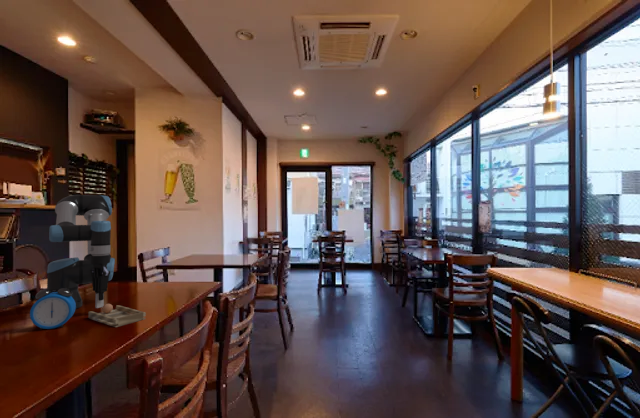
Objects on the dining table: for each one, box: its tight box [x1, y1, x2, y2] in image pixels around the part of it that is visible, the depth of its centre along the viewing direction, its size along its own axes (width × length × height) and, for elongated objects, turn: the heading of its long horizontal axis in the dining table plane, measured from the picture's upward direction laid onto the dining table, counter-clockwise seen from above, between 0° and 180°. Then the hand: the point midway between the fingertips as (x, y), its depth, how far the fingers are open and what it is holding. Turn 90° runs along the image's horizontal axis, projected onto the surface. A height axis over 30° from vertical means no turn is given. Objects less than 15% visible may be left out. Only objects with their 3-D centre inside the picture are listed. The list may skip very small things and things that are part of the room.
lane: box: [88, 304, 147, 328], centre depth 137 cm, size 22×12×3 cm, turn 59°
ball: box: [101, 303, 114, 313], centre depth 141 cm, size 4×4×4 cm
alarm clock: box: [29, 288, 77, 331], centre depth 127 cm, size 13×6×15 cm, turn 115°
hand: (99, 307), depth 145 cm, fingers closed
